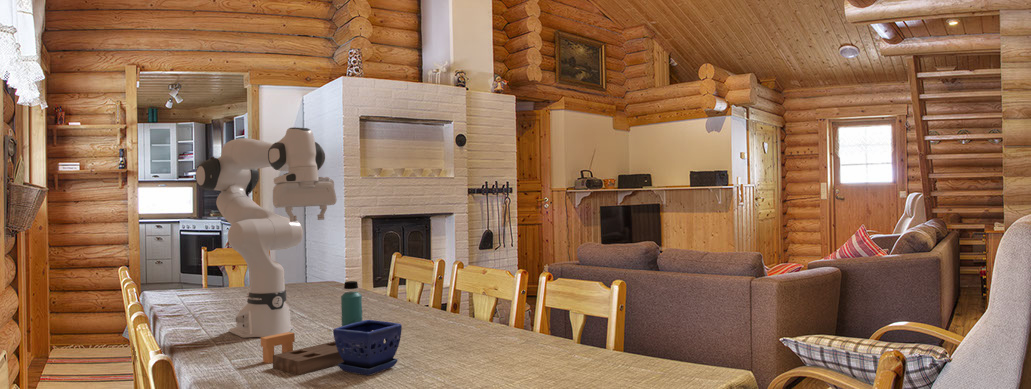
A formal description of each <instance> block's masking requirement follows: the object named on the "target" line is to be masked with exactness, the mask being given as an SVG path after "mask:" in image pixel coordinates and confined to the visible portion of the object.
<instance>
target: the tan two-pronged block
mask: <svg viewBox="0 0 1031 389" xmlns="http://www.w3.org/2000/svg"><path fill="white" fill-rule="evenodd" d="M295 341H296V339H295V332H291V331H290V332H286V333H281V334H276V335H271V336H266V337H260V347H262V361H263V363H266V364H273V355H275V347H276V346H281V353H285V352H289V351H294V343H295Z"/></svg>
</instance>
